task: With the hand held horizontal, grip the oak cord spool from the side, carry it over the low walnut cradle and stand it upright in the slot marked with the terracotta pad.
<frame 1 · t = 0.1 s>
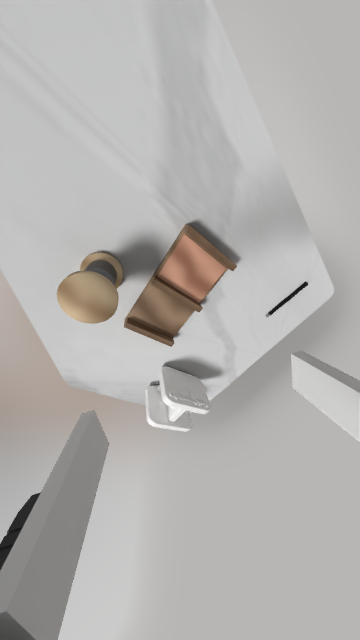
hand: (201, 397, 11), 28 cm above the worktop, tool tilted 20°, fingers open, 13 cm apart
cable organizer: (172, 379, 53), on the worktop
cord spool: (103, 272, 32), on the worktop
black pen: (283, 299, 45), on the worktop
slot cradle: (176, 291, 37), on the worktop
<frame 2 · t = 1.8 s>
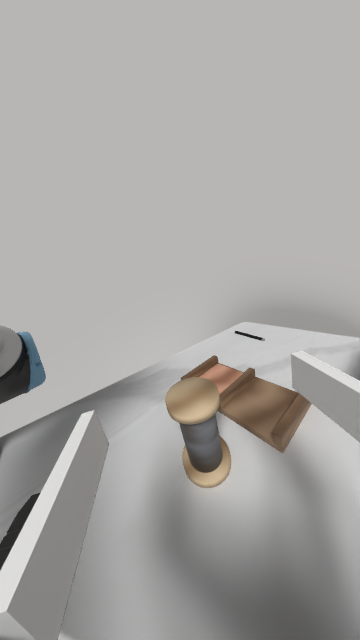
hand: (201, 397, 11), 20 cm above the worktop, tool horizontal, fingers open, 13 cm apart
cord spool: (206, 459, 26), on the worktop
black pen: (249, 337, 62), on the worktop
slot cradle: (238, 394, 37), on the worktop
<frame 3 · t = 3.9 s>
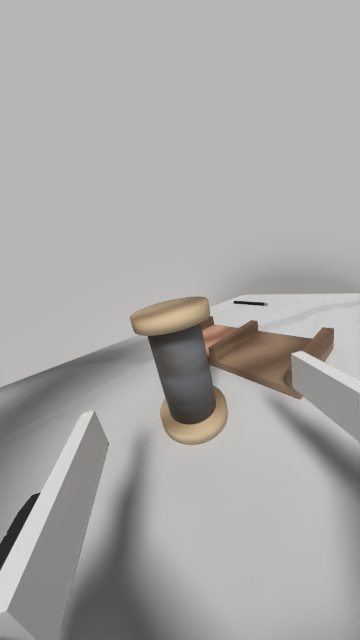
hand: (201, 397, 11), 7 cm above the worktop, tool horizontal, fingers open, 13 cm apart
cord spool: (194, 413, 19), on the worktop
black pen: (249, 305, 55), on the worktop
slot cradle: (237, 349, 30), on the worktop
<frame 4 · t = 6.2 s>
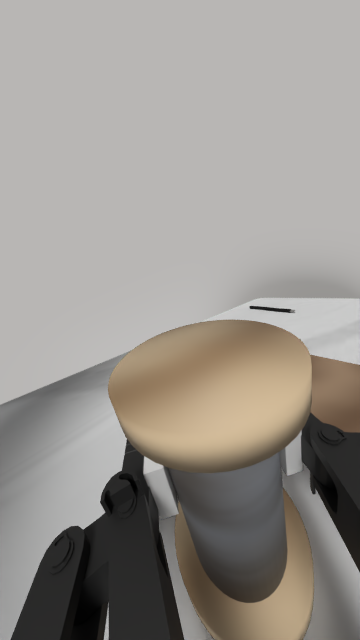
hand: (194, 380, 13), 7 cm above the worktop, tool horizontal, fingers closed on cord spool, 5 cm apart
cord spool: (238, 534, 10), on the worktop, touching gripper
black pen: (270, 311, 46), on the worktop
slot cradle: (276, 381, 21), on the worktop
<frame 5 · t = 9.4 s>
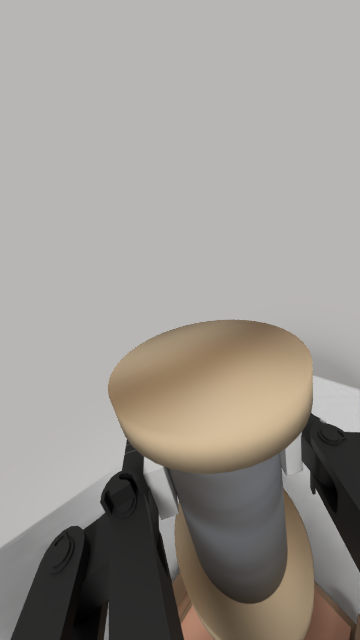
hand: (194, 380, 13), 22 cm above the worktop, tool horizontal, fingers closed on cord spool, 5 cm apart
cord spool: (238, 534, 10), point 15 cm above the worktop, touching gripper
when the fingers open (10 cm above the worktop, at t = 12.4 s): cord spool drops 1 cm, resting on slot cradle.
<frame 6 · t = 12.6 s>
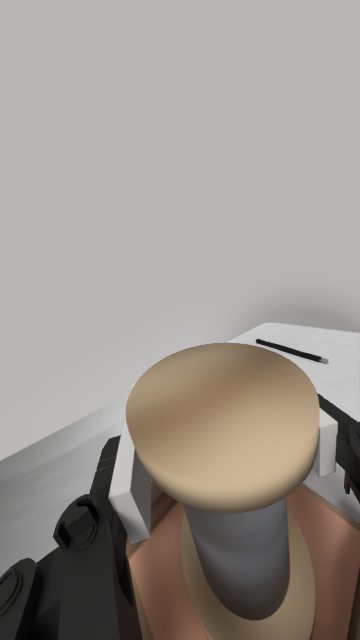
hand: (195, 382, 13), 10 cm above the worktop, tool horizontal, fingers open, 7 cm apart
cord spool: (241, 549, 10), point 1 cm above the worktop, touching slot cradle
black pen: (286, 353, 31), on the worktop
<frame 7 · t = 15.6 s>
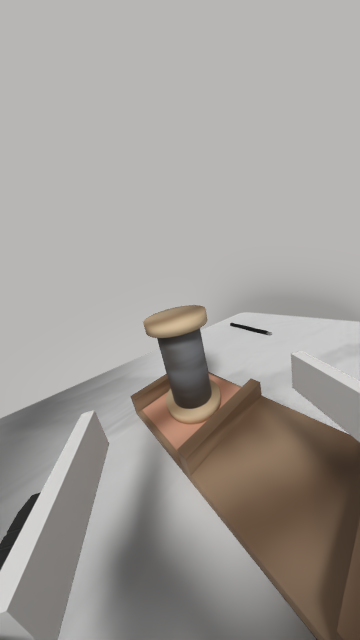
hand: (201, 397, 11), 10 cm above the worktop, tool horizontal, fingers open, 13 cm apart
cord spool: (194, 401, 23), point 1 cm above the worktop, touching slot cradle
black pen: (249, 331, 44), on the worktop
slot cradle: (228, 432, 19), on the worktop
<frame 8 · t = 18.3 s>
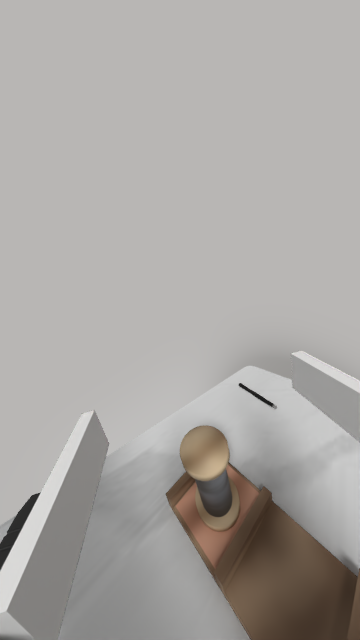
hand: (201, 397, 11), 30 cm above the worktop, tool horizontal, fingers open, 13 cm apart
cord spool: (217, 500, 29), point 1 cm above the worktop, touching slot cradle
black pen: (256, 396, 49), on the worktop
slot cradle: (248, 540, 25), on the worktop
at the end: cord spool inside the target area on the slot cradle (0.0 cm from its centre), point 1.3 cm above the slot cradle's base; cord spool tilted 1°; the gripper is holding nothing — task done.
